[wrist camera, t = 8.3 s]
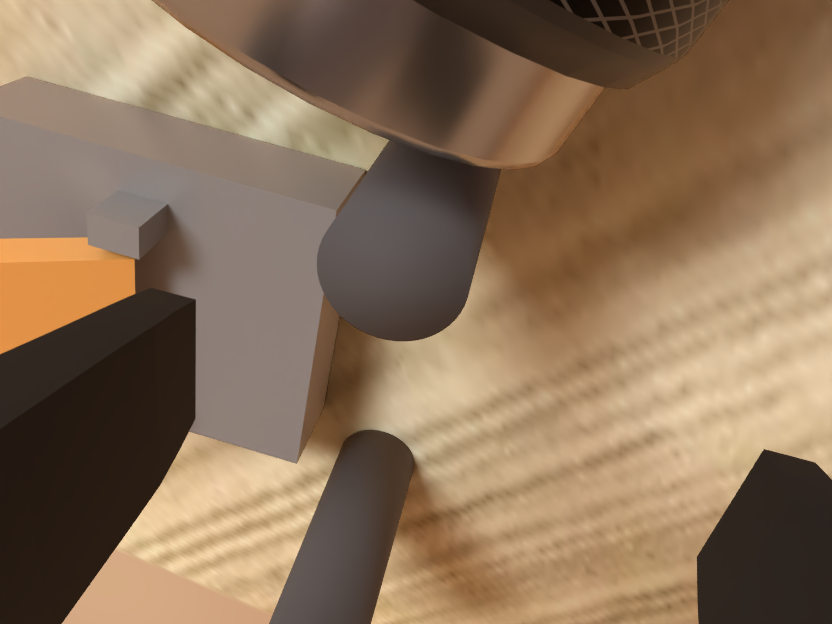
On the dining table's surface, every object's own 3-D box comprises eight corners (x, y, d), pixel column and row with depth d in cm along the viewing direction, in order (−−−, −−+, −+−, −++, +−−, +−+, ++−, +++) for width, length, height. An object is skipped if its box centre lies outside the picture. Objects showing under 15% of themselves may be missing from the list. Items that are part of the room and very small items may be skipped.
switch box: (365, 169, 18) (318, 236, 14) (323, 407, 22) (280, 497, 19) (26, 76, 18) (-91, 121, 15) (52, 327, 23) (-35, 402, 19)
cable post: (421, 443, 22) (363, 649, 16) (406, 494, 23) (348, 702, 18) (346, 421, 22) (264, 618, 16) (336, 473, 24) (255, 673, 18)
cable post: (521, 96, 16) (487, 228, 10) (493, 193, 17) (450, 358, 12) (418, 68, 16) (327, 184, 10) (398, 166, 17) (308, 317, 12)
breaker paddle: (135, 259, 16) (-100, 265, 14) (137, 384, 18) (-67, 404, 16) (130, 236, 17) (-93, 240, 15) (133, 360, 19) (-62, 376, 17)
